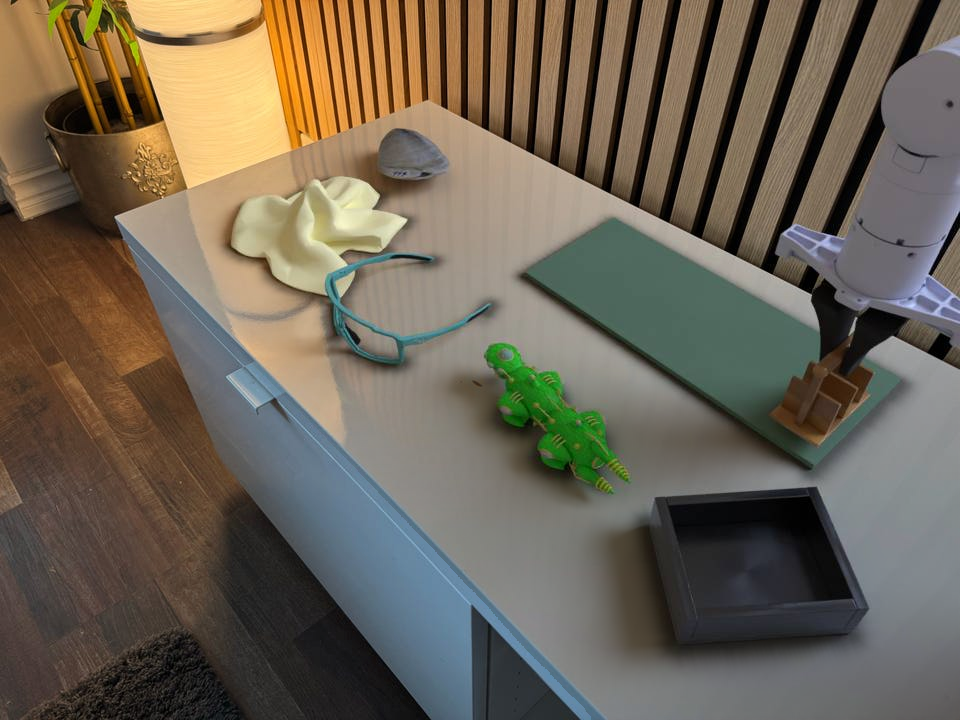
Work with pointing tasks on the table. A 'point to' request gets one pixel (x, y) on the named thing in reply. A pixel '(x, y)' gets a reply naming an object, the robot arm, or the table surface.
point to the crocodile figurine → (553, 417)
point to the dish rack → (823, 397)
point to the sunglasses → (353, 337)
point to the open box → (753, 566)
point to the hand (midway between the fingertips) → (838, 362)
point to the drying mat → (697, 328)
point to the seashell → (410, 156)
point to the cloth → (314, 231)
